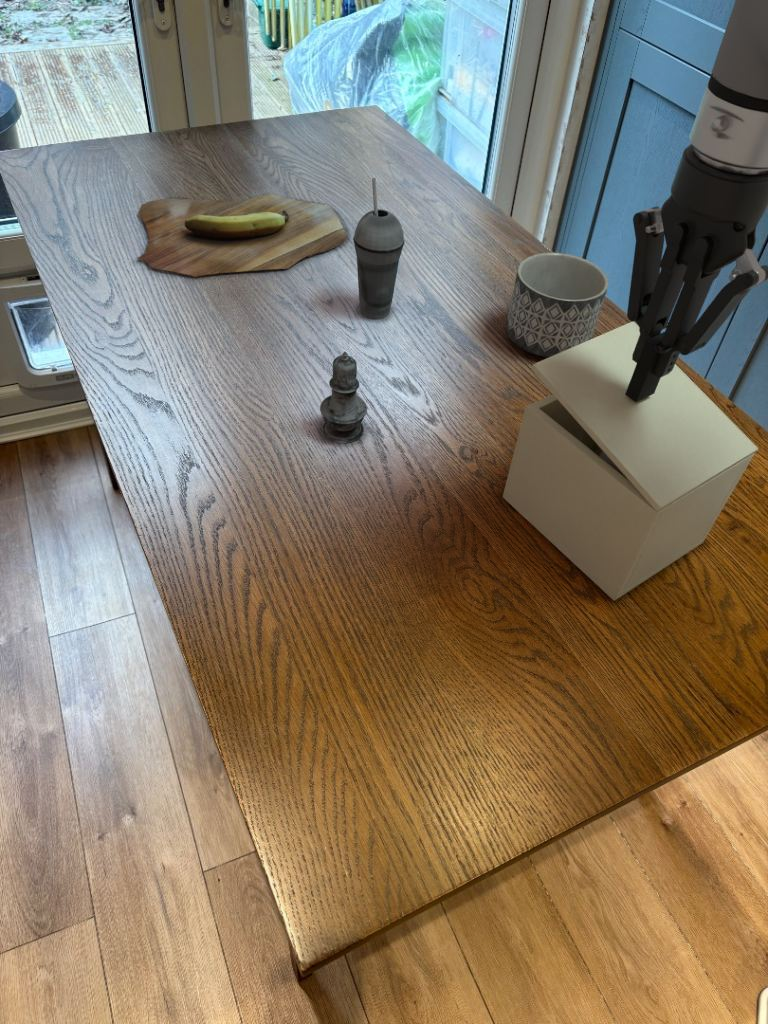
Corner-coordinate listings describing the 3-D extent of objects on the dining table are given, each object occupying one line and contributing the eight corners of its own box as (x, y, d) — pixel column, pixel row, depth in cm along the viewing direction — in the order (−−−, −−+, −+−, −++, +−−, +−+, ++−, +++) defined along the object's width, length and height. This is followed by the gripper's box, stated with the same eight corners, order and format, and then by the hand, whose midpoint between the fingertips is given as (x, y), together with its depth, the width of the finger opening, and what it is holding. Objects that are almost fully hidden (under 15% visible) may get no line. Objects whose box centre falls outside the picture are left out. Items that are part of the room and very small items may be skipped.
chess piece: (356, 450, 93) (359, 372, 84) (312, 437, 94) (311, 359, 85) (372, 421, 97) (377, 344, 88) (330, 409, 98) (331, 332, 89)
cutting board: (139, 283, 115) (134, 261, 112) (132, 202, 133) (128, 180, 130) (360, 265, 123) (361, 243, 120) (326, 190, 140) (326, 169, 137)
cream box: (502, 497, 89) (525, 406, 79) (589, 451, 96) (622, 361, 85) (614, 601, 80) (657, 513, 69) (703, 542, 86) (754, 454, 76)
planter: (494, 350, 109) (507, 286, 101) (516, 306, 117) (530, 244, 109) (579, 373, 106) (599, 310, 99) (596, 327, 115) (615, 265, 107)
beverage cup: (390, 329, 111) (399, 196, 96) (344, 318, 112) (346, 185, 98) (404, 304, 116) (416, 174, 101) (360, 293, 117) (365, 164, 102)
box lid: (530, 369, 76) (533, 363, 75) (629, 325, 82) (633, 320, 82) (656, 512, 69) (661, 507, 69) (754, 453, 76) (759, 448, 75)
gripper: (638, 132, 60) (567, 371, 77) (778, 200, 53) (665, 445, 70) (698, 116, 63) (617, 349, 80) (837, 177, 56) (715, 417, 74)
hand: (639, 393), depth 75 cm, fingers closed
